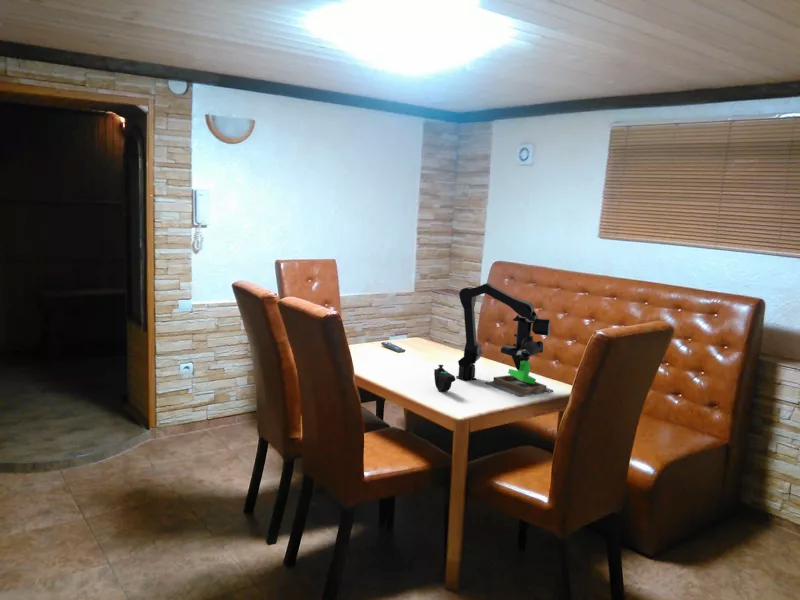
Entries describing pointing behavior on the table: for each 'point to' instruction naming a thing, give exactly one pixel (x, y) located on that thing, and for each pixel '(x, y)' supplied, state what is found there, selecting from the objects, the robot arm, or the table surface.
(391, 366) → the table surface
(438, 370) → the controller
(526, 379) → the mechanical part
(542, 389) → the seat
